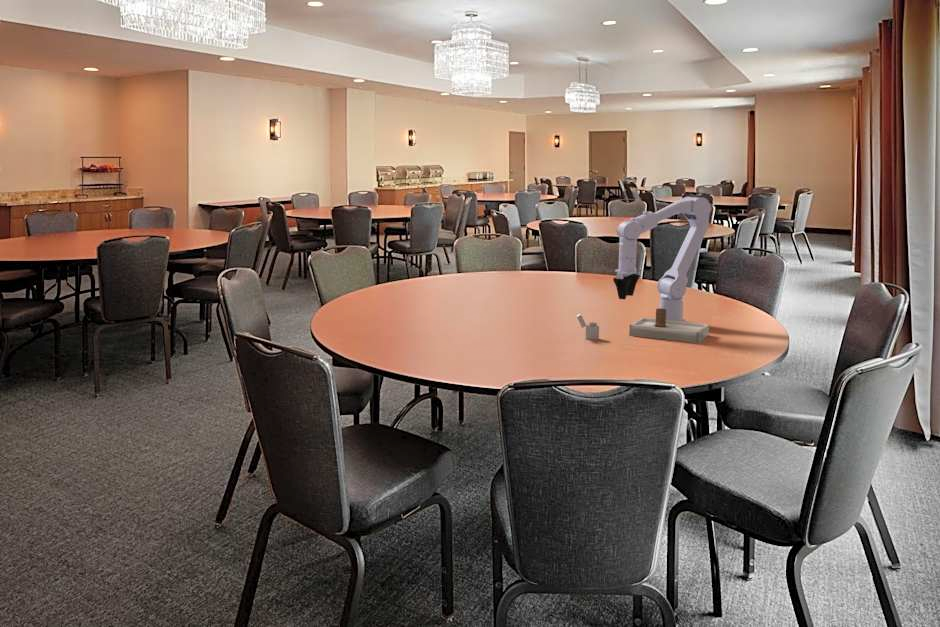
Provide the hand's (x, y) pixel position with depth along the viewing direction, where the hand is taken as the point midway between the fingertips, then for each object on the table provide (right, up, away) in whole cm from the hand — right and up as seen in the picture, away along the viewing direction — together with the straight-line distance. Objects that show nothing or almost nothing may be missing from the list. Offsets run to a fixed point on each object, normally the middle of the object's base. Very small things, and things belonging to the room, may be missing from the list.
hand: (625, 297), depth 245 cm
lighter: (-16, -14, -16) cm, 26 cm away
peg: (+9, -12, -10) cm, 18 cm away
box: (+11, -13, -12) cm, 21 cm away
